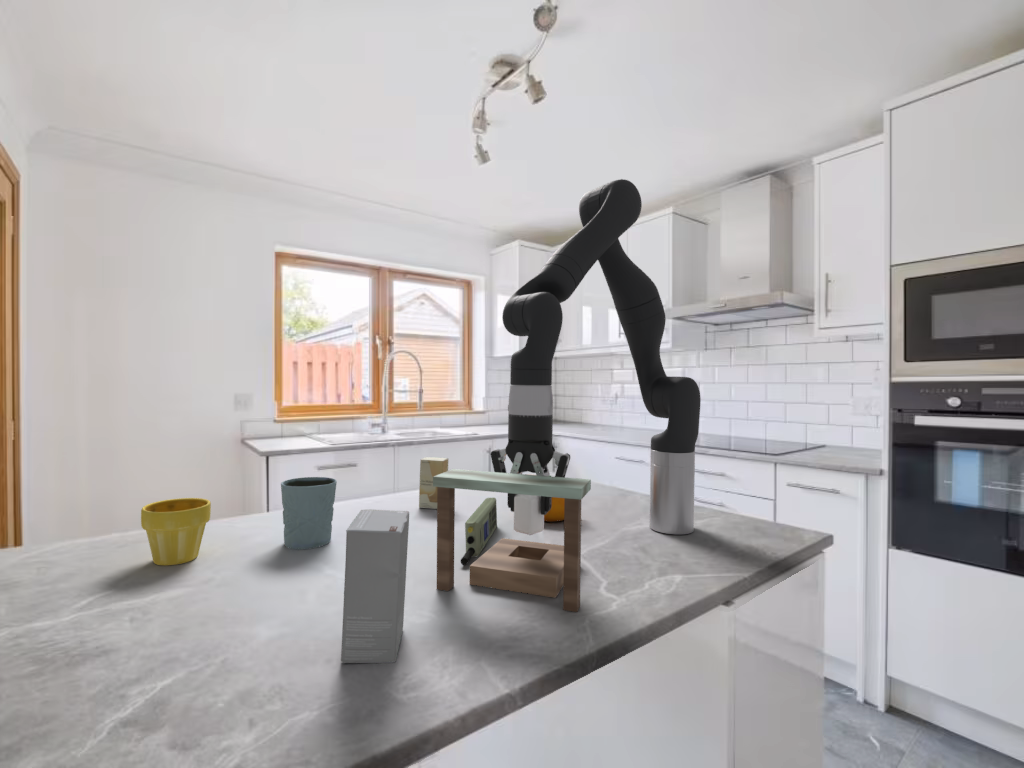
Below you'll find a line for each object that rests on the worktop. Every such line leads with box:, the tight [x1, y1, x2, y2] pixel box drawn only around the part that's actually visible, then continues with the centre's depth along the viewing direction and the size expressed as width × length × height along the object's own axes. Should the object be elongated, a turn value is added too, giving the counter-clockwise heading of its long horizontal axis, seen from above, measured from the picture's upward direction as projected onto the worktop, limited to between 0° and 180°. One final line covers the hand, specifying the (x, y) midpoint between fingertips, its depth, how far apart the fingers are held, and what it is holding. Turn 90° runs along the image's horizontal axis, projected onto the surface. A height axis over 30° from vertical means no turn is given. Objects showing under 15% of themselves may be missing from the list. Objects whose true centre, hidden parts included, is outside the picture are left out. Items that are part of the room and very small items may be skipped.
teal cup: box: [280, 476, 337, 550], centre depth 101 cm, size 10×10×12 cm
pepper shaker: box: [513, 473, 545, 536], centre depth 88 cm, size 4×4×10 cm
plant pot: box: [140, 497, 212, 566], centre depth 91 cm, size 10×10×10 cm
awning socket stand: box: [433, 468, 592, 613], centre depth 84 cm, size 19×23×18 cm
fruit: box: [544, 497, 565, 522], centre depth 120 cm, size 12×12×10 cm
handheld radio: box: [460, 497, 498, 566], centre depth 101 cm, size 7×3×25 cm
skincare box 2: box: [418, 456, 449, 510], centre depth 129 cm, size 6×4×12 cm
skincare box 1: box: [340, 509, 410, 664], centre depth 63 cm, size 8×7×16 cm
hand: (529, 511), depth 88 cm, fingers closed on pepper shaker, 4 cm apart
